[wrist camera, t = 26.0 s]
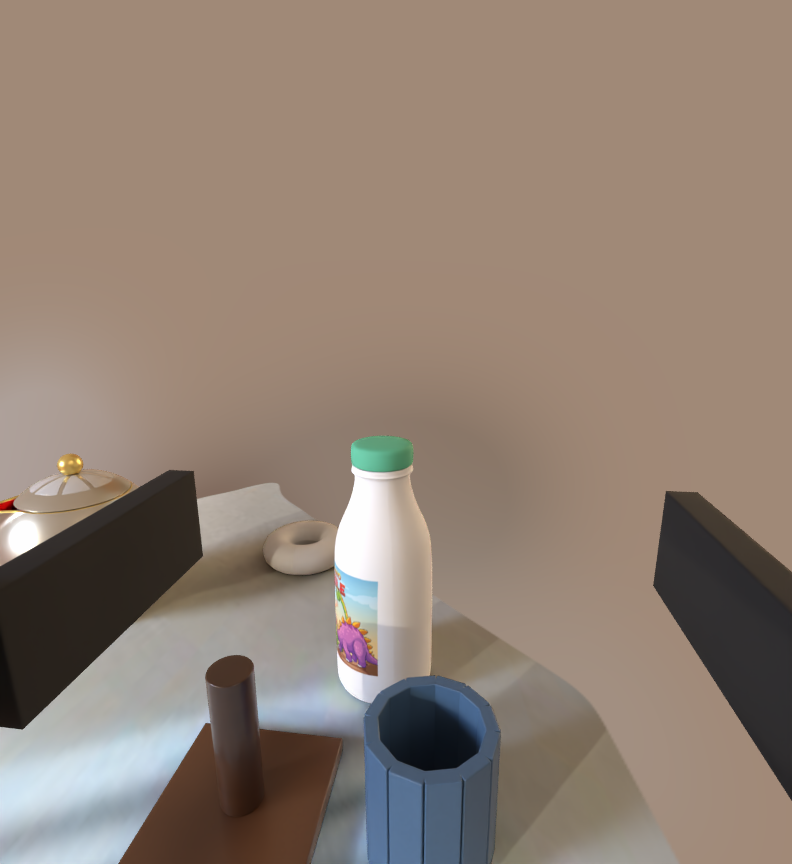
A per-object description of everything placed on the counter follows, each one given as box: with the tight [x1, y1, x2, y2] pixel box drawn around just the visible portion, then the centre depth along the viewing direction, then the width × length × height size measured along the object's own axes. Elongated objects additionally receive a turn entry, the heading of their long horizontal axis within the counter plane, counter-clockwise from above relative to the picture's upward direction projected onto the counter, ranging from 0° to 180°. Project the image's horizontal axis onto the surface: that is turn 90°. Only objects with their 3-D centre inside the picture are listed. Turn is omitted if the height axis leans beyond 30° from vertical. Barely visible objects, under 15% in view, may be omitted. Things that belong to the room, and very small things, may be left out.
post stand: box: [118, 655, 343, 864], centre depth 30 cm, size 10×10×10 cm
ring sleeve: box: [364, 675, 501, 864], centre depth 29 cm, size 7×7×8 cm
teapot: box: [0, 454, 139, 566], centre depth 50 cm, size 18×14×16 cm
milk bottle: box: [335, 436, 432, 703], centre depth 40 cm, size 8×8×20 cm
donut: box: [263, 521, 339, 575], centre depth 61 cm, size 10×4×10 cm
